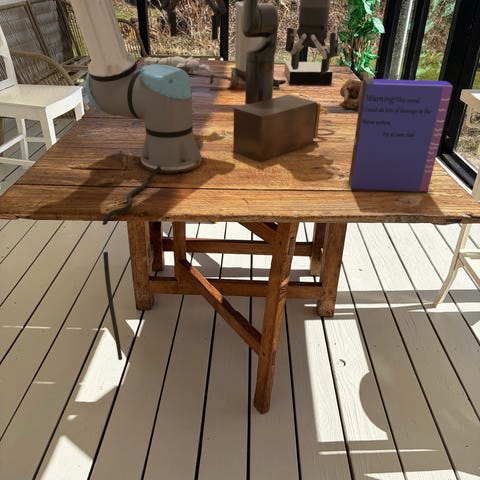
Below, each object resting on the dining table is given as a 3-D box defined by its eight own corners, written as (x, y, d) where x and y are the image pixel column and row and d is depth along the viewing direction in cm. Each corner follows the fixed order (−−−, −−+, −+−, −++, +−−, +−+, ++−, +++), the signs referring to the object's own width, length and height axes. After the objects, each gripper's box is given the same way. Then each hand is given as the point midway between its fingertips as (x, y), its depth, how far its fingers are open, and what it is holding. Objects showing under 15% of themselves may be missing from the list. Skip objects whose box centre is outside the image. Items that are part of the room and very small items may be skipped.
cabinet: (285, 134, 144) (288, 94, 138) (313, 143, 137) (317, 102, 131) (233, 150, 131) (233, 107, 125) (260, 161, 125) (262, 116, 119)
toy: (163, 81, 199) (162, 64, 196) (139, 70, 217) (137, 54, 213) (213, 75, 211) (213, 58, 207) (186, 64, 229) (186, 49, 225)
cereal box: (422, 183, 114) (445, 80, 101) (427, 192, 110) (453, 85, 97) (348, 180, 115) (363, 77, 102) (351, 189, 111) (366, 83, 98)
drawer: (305, 126, 148) (308, 93, 143) (329, 133, 142) (333, 100, 137) (244, 144, 133) (245, 109, 127) (268, 154, 127) (270, 117, 122)
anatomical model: (349, 110, 180) (352, 112, 166) (333, 93, 179) (334, 95, 165) (374, 84, 176) (379, 84, 162) (358, 67, 175) (361, 66, 161)
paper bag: (273, 76, 210) (276, 6, 196) (239, 77, 209) (240, 6, 194) (266, 67, 226) (268, 2, 212) (235, 67, 225) (235, 1, 210)
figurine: (210, 87, 179) (288, 95, 182) (212, 65, 176) (291, 73, 180) (208, 84, 201) (278, 91, 205) (210, 64, 198) (280, 71, 202)
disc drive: (289, 84, 198) (290, 71, 196) (284, 72, 218) (284, 61, 215) (331, 84, 199) (332, 72, 196) (322, 72, 218) (323, 61, 215)
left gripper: (238, -44, 132) (237, 38, 143) (158, -46, 139) (163, 33, 150) (228, -44, 126) (228, 42, 137) (145, -46, 133) (151, 36, 144)
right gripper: (347, 5, 119) (339, 72, 128) (297, 1, 126) (292, 65, 135) (334, 8, 114) (326, 77, 123) (283, 3, 121) (279, 70, 129)
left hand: (194, 37), depth 143 cm, fingers open, 13 cm apart
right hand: (309, 71), depth 129 cm, fingers open, 8 cm apart
